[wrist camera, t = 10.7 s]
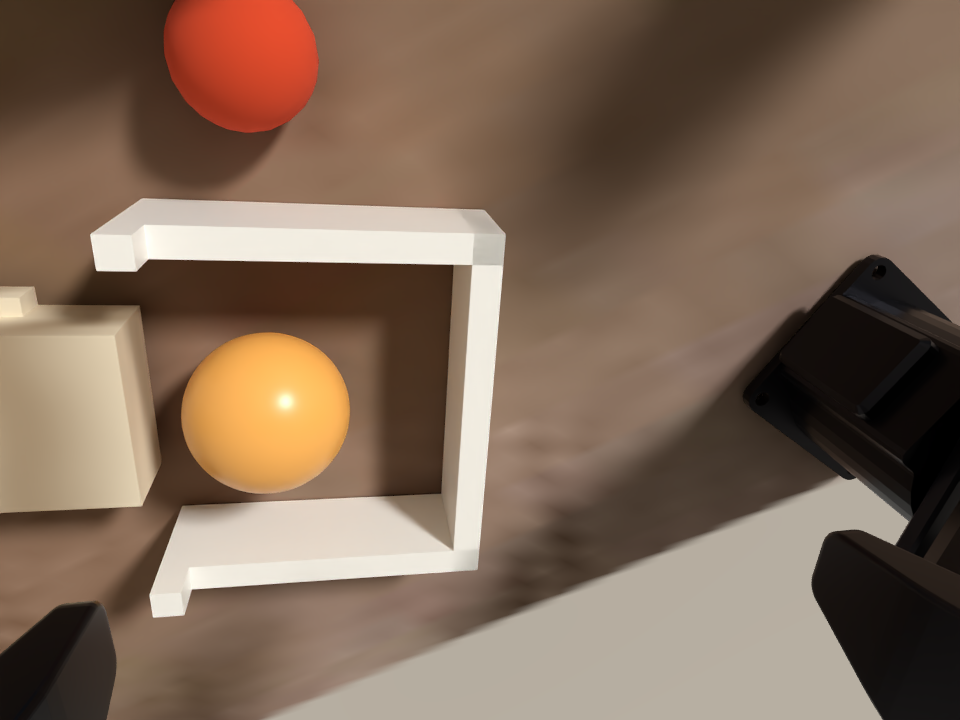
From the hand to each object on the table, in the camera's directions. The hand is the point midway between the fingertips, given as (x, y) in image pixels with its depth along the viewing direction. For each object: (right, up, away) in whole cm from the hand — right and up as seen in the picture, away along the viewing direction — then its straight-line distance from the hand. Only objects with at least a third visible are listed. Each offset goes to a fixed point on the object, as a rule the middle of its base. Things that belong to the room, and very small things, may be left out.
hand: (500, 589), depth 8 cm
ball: (-6, +1, +10) cm, 12 cm away
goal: (-5, +2, +12) cm, 14 cm away
